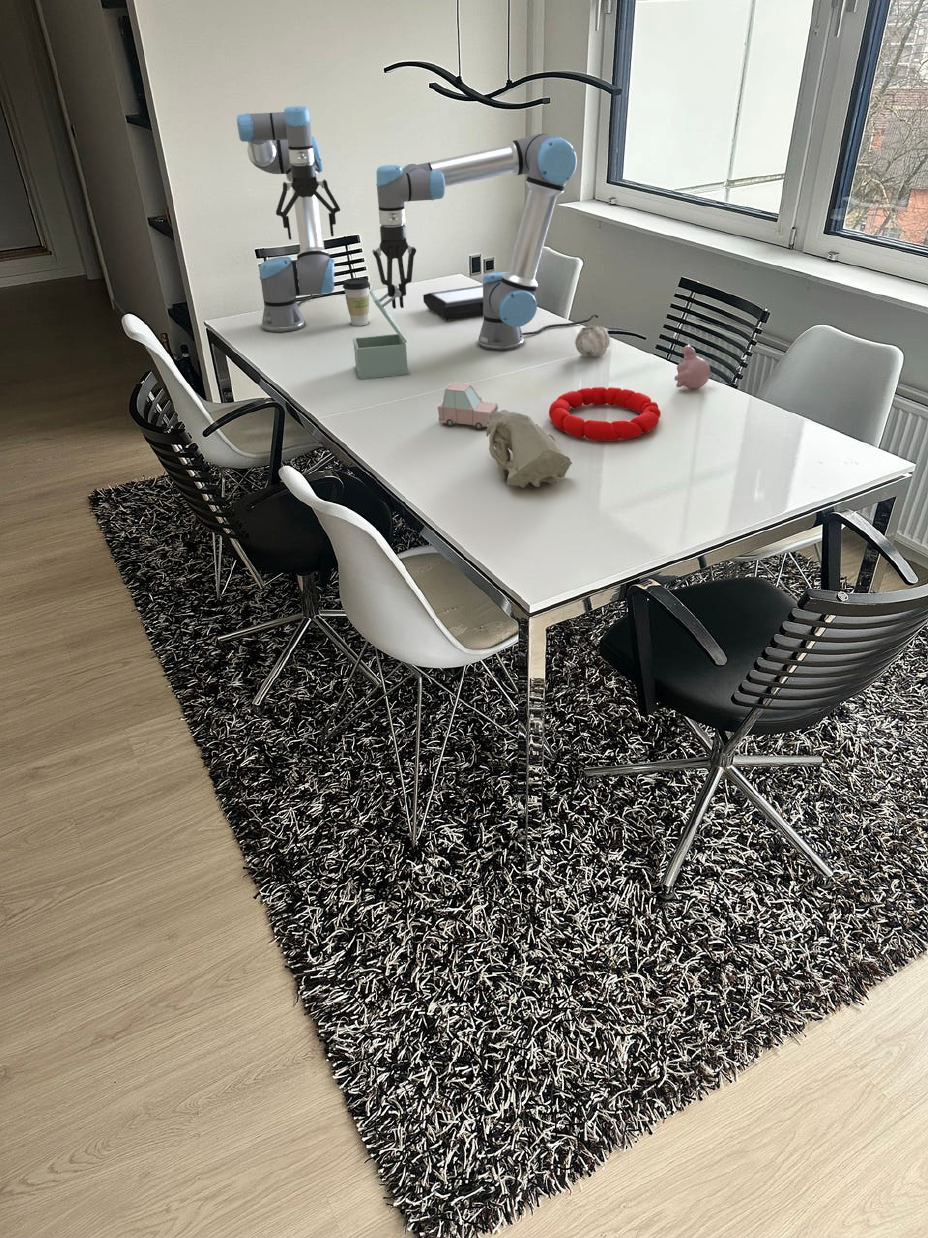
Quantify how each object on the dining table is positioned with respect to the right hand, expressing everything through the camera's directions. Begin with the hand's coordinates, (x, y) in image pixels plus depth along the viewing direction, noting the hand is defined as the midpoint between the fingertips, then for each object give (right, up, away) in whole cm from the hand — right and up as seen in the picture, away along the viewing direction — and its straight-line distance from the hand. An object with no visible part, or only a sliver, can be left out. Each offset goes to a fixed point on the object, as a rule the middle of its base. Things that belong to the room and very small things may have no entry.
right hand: (397, 306), depth 274 cm
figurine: (+87, -28, -11) cm, 92 cm away
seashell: (+62, -11, +16) cm, 65 cm away
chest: (-6, -17, +10) cm, 21 cm away
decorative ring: (+59, -42, -30) cm, 78 cm away
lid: (-3, -3, +1) cm, 5 cm away
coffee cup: (-18, +13, +53) cm, 58 cm away
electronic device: (+24, +21, +63) cm, 71 cm away
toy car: (+22, -42, -28) cm, 55 cm away
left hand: (-29, +27, +14) cm, 42 cm away
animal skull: (+34, -59, -54) cm, 87 cm away
